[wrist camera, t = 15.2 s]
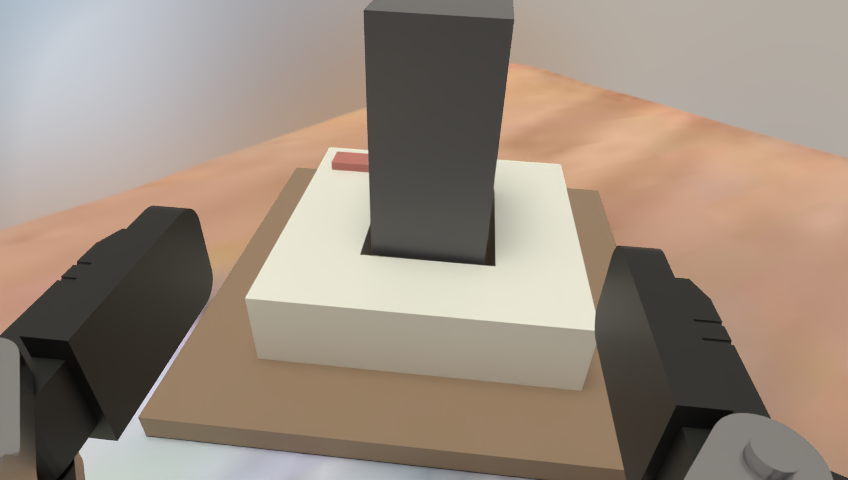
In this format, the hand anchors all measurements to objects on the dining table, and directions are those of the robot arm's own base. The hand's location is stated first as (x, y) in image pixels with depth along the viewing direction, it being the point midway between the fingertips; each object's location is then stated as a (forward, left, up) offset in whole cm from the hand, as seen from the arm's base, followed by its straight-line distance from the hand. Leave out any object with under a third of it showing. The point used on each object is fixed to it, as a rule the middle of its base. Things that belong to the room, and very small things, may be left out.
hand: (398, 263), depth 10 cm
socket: (0, -11, -10) cm, 15 cm away
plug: (0, -11, -9) cm, 14 cm away
